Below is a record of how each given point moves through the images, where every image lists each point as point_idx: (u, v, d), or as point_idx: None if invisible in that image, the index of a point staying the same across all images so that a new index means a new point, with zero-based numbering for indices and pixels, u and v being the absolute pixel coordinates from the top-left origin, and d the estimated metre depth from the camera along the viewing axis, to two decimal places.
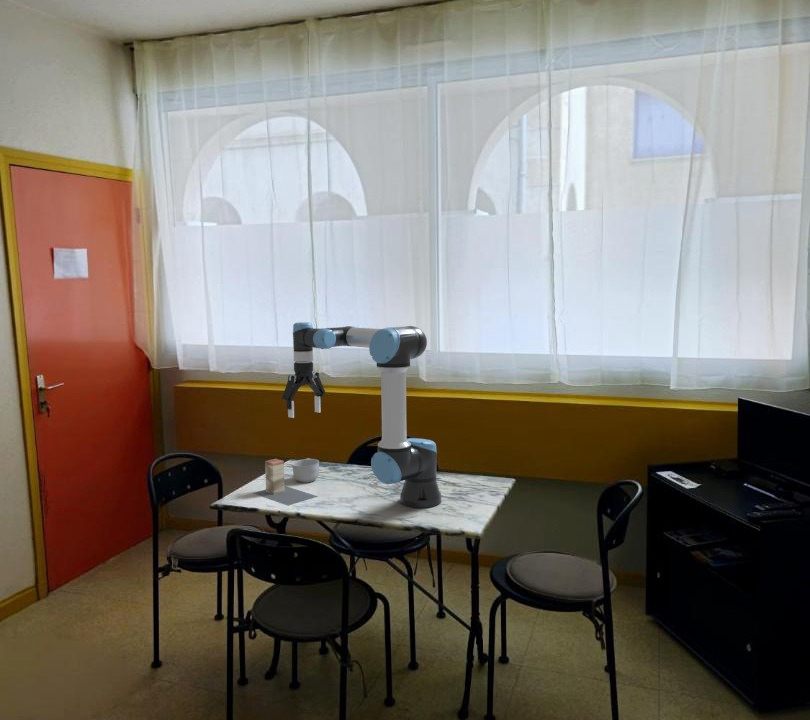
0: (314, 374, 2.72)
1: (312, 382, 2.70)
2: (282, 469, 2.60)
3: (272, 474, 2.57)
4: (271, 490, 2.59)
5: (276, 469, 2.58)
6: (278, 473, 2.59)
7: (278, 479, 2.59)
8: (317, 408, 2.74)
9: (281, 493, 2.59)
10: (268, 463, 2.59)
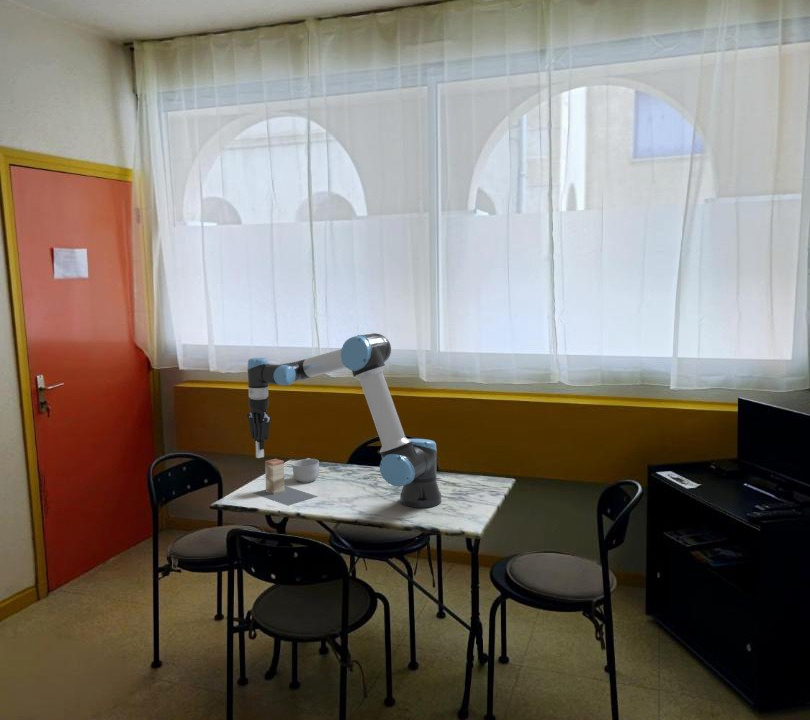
0: None
1: None
2: (282, 469, 2.60)
3: (272, 474, 2.57)
4: (271, 490, 2.59)
5: (276, 469, 2.58)
6: (278, 473, 2.59)
7: (278, 479, 2.59)
8: None
9: (281, 493, 2.59)
10: (268, 463, 2.59)
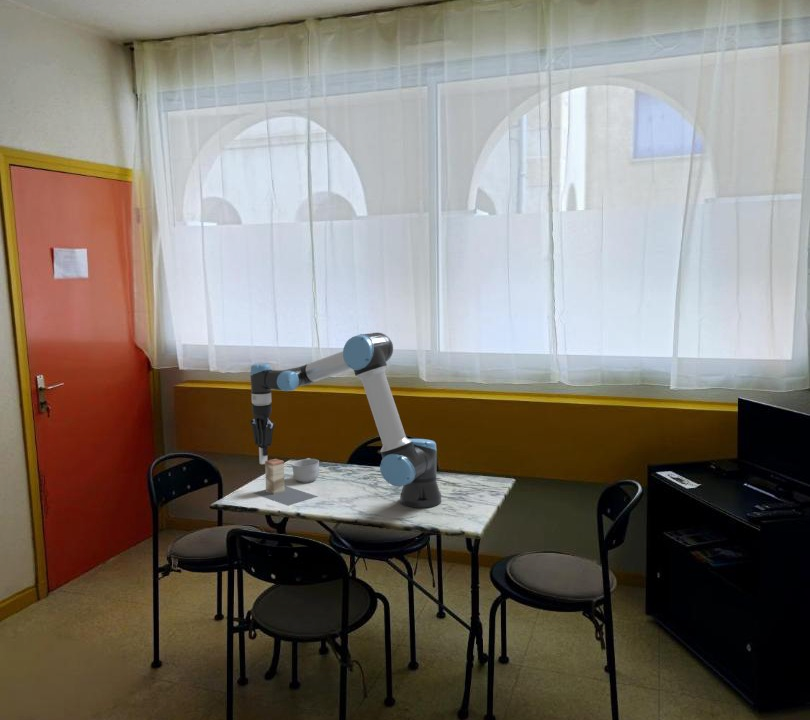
0: None
1: None
2: (282, 469, 2.60)
3: (272, 474, 2.57)
4: (271, 490, 2.59)
5: (276, 469, 2.58)
6: (278, 473, 2.59)
7: (278, 479, 2.59)
8: None
9: (281, 493, 2.59)
10: (268, 463, 2.59)
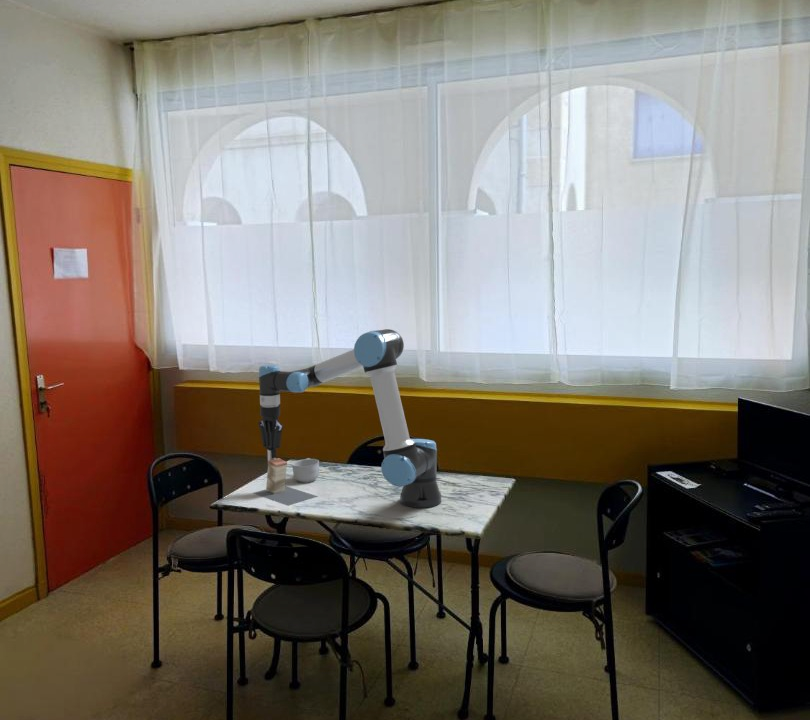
0: None
1: None
2: (284, 470, 2.59)
3: (275, 475, 2.57)
4: (271, 489, 2.59)
5: (278, 470, 2.57)
6: (280, 474, 2.58)
7: (279, 480, 2.59)
8: None
9: (281, 493, 2.59)
10: (271, 463, 2.57)
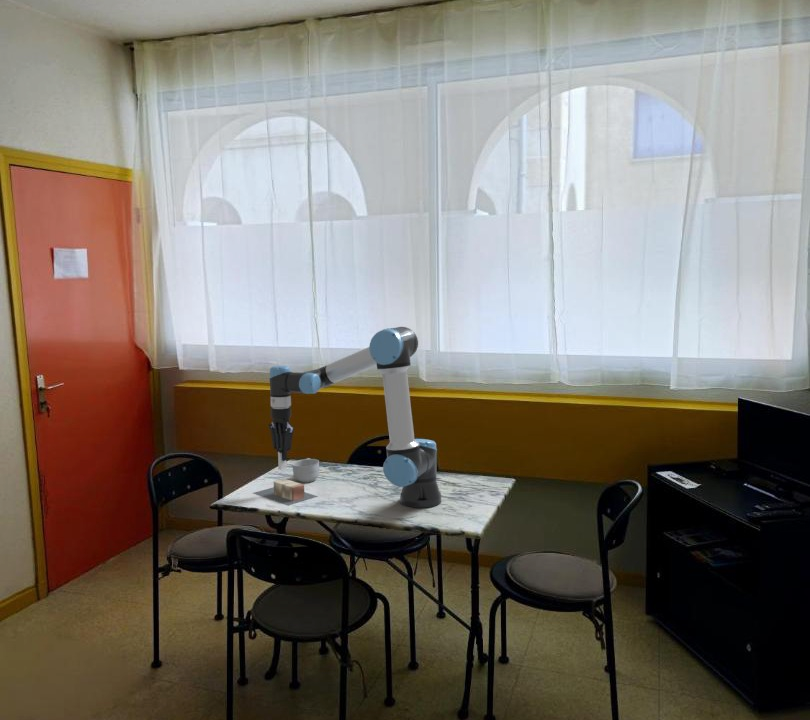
0: None
1: None
2: None
3: (286, 497, 2.53)
4: (275, 490, 2.57)
5: None
6: None
7: None
8: None
9: None
10: (292, 493, 2.50)
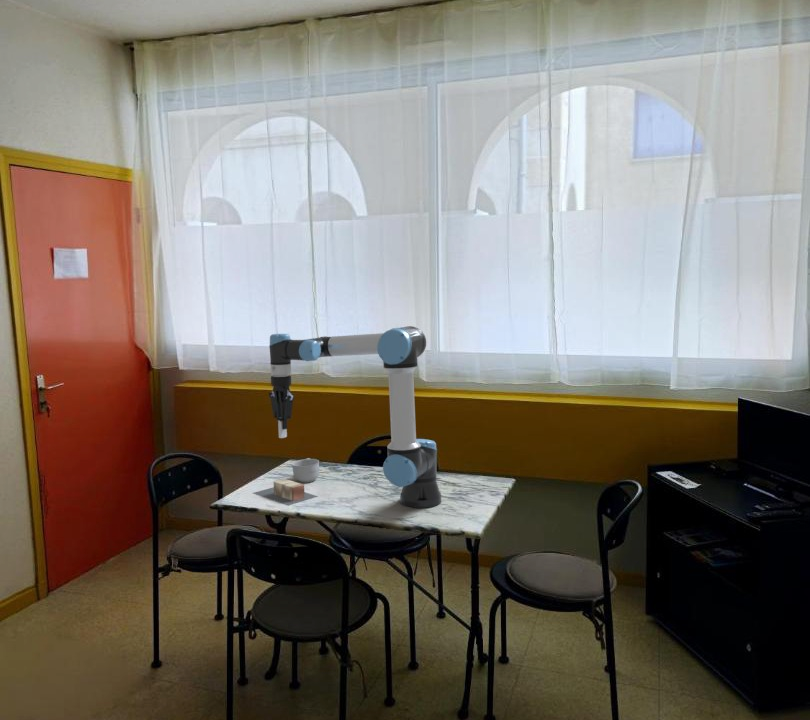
0: None
1: None
2: None
3: (286, 497, 2.53)
4: (275, 490, 2.57)
5: None
6: None
7: None
8: None
9: None
10: (292, 493, 2.50)
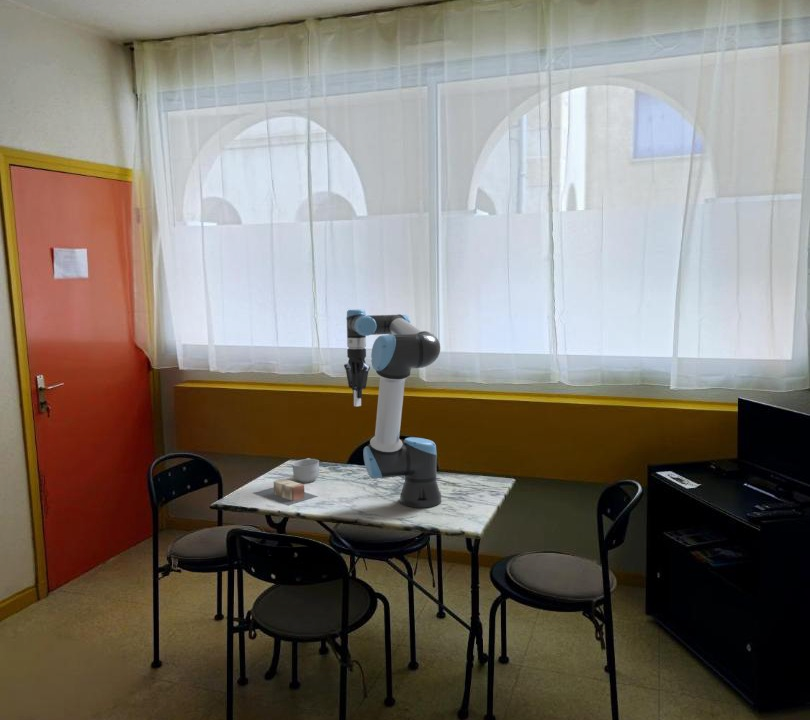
0: None
1: None
2: None
3: (286, 497, 2.53)
4: (275, 490, 2.57)
5: None
6: None
7: None
8: None
9: None
10: (292, 493, 2.50)
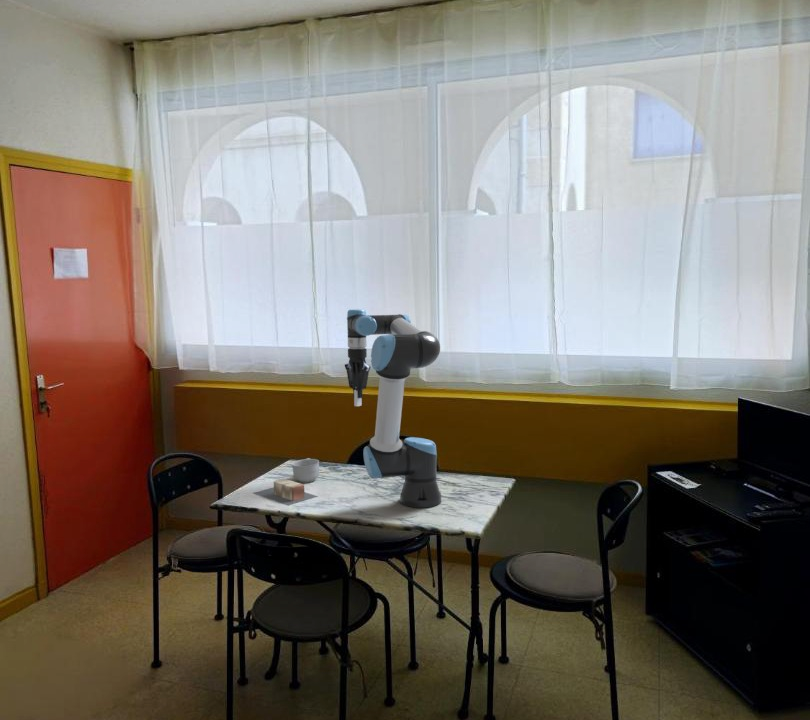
0: None
1: None
2: None
3: (286, 497, 2.53)
4: (275, 490, 2.57)
5: None
6: None
7: None
8: None
9: None
10: (292, 493, 2.50)
